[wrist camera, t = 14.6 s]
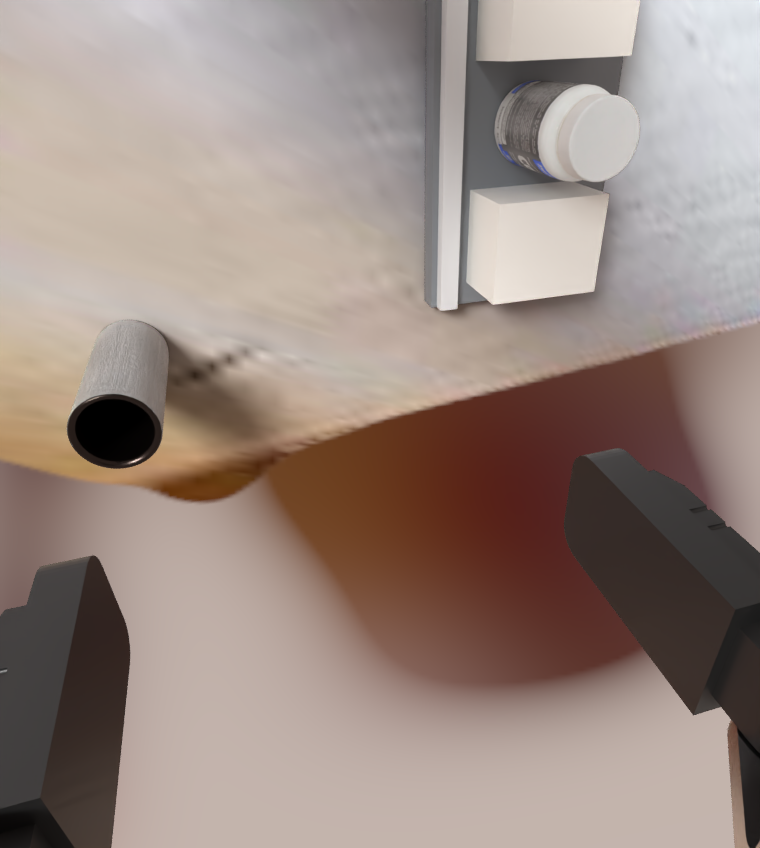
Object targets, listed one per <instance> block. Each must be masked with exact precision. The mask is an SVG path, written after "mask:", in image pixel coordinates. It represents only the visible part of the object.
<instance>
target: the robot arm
mask: <svg viewBox="0 0 760 848" xmlns="http://www.w3.org/2000/svg"><path fill="white" fill-rule="evenodd" d="M564 529H565V535H566V539H567V543H568V545H569V548H570V549H571V552H572V554H573V555H574V556H575V558H576V559H577V561H578V562H579V563H580V565H581V566H582V567H583V569H584V570H585V571H586V573H587V574H588V575H589V577H590V578H591V579H592V581H593V582H594V583H595V585H596V586H597V587H598V589H599V590H600V591H601V593H602V594H603V595H604V597H605V598H606V599H607V601H608V602H609V603H610V604H611V606H612V607H613V609H614V610H615V611H616V613H617V614H618V615H619V617H620V618H621V619H622V621H623V622H624V623H625V624H626V626H627V627H628V629H629V630H630V631H631V633H632V634H633V635H634V637H635V638H636V639H637V641H638V642H639V643H640V645H641V646H642V647H643V649H644V650H645V651H646V653H647V654H648V655H649V657H650V658H651V659H652V661H653V662H654V663H655V665H656V666H657V667H658V669H659V670H660V671H661V673H662V674H663V675H664V677H665V678H666V679H667V681H668V682H669V683H670V685H671V686H672V687H673V689H674V690H675V691H676V693H677V694H678V695H679V697H680V698H681V699H682V701H683V702H684V703H685V705H686V706H687V707H688V709H689V710H690V711H691V713H692V714H693V715H696V714H699V713H702V712H705V711H709V710H712V709H715V708H719V707H722V709H723V710H724V711H725V712H726V714H727V715H728V716H729V717H730V719H731V721H730V723H729V727H728V735H727V736H728V749H729V750H728V752H729V766H730V782H731V797H732V811H733V812H732V813H733V828H734V843H735V848H760V553H759V552H758V551H757V550H756V549H755V548H754V547H752V546H751V545H750V544H749V543H748V542H747V541H746V540H745V539H744V538H742V537H741V536H740V535H739V534H738V533H737V532H736V531H735V530H734V529H732V528H731V527H727V526H726V525H725V521H723V520H722V519H721V518H720V517H719V516H718V515H717V514H716V513H714V512H713V511H712V510H707V508H706V505H705V504H704V503H703V502H702V501H701V500H700V499H699V498H698V497H696V496H695V495H694V494H693V493H692V492H691V491H690V490H689V489H688V488H686V487H685V486H684V485H682V484H680V483H678V482H676V481H674V480H673V479H671V478H669V477H666V476H665V475H662V474H660V473H658V472H657V471H655V470H652V471H647V470H646V469H645V468H644V467H643V466H642V465H641V464H640V463H639V462H637V461H636V460H635V459H634V458H633V457H632V456H631V455H630V454H629V453H628V452H626V451H625V450H623V449H620V448H618V449H612V450H607V451H602V452H597V453H592V454H587V455H583V456H579V457H578V458H576V460H575V461H574V464H573V468H572V474H571V481H570V487H569V494H568V500H567V507H566V513H565V520H564ZM129 666H130V644H129V636H128V630H127V626H126V623H125V620H124V617H123V615H122V613H121V610H120V608H119V605H118V603H117V601H116V598H115V596H114V593H113V591H112V588H111V586H110V584H109V581H108V579H107V576H106V574H105V572H104V569H103V567H102V565H101V563H100V561H99V559H98V558H97V557H96V556H89V557H84V558H79V559H74V560H69V561H65V562H59V563H55V564H50V565H45V566H42V567H40V568H39V569H38V571H37V573H36V575H35V578H34V582H33V585H32V588H31V592H30V595H29V598H28V602H27V605H26V606H21V607H16V608H11V609H7V610H5V611H4V612H3V613H2V614H1V616H0V848H111V844H112V834H113V825H114V815H115V805H116V795H117V785H118V775H119V765H120V755H121V745H122V736H123V726H124V715H125V705H126V695H127V686H128V675H129Z"/></svg>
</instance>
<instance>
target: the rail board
mask: <svg viewBox="0 0 760 848" xmlns="http://www.w3.org/2000/svg"><path fill="white" fill-rule="evenodd" d="M639 5H640V0H426V114H425V301H426V302H427V304H428V305H429V306H430V307H431V308H433V307H437V308H438V309H439V310H440V311H445V310H452V309H457V305H458V304H463V303H471V302H479V301H487V300H488V301H489V302H490V303H491V304H493V305H495V304H503V303H511V302H518V301H526V300H533V299H541V298H549V297H556V296H564V295H571V294H579V293H587V292H594V288H595V282H596V276H597V270H598V263H599V257H600V251H601V244H602V238H603V232H604V225H605V219H606V213H607V207H608V200H609V194H608V193H605V192H603V186H604V181H602V182H590V181H585V180H581V181H575V182H568V181H562V180H559V179H556V178H553V177H550V176H547V175H544V174H541V173H538V172H536V171H533V170H530V169H527V168H524V167H521V166H518V165H515V164H513V163H512V162H510V161H508V160H507V159H506V158H505V157H504V156H503V155H502V153H501V152H500V150H499V149H498V146H497V143H496V139H495V135H494V129H495V119H496V115H497V112H498V109H499V107H500V105H501V103H502V101H503V100H504V98H505V97H506V96H507V95H508V94H509V92H510V91H511V90H513V89H514V88H515V87H517V86H518V85H520V84H522V83H524V82H527V81H533V80H540V81H555V82H566V83H577V84H590V85H596V86H599V87H601V88H603V89H605V90H606V91H607V92H609V93H610V94H611V95H618V88H619V82H620V75H621V69H622V62H623V56H631V55H632V49H633V43H634V37H635V30H636V24H637V18H638V11H639Z"/></svg>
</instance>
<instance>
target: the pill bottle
mask: <svg viewBox="0 0 760 848" xmlns="http://www.w3.org/2000/svg"><path fill="white" fill-rule="evenodd" d="M494 135H495V139H496V143H497V146H498V149H499V150H500V152H501V153H502V155H503V156H504V157H505V158H506V159H507V160H508V161H510V162H512V163H513V164H515V165H518V166H521V167H524V168H527V169H530V170H533V171H536V172H538V173H541V174H544V175H547V176H550V177H553V178H556V179H559V180H562V181H568V182H575V181H581V180H585V181H590V182H602V181H605V180H608V179H610V178H612V177H614V176H616V175H617V174H618V173H620V172H621V171H622V170H623V169H624V168H625V167H626V166H627V164H628V163H629V161H630V160H631V158H632V157H633V155H634V153H635V150H636V148H637V145H638V142H639V136H640V122H639V117H638V114H637V111H636V109H635V108H634V106H633V105H632V104H631V103H630V102H629V101H628V100H627V99H625V98H623V97H620V96H617V95H611V94H610V93H609V92H607V91H606V90H605V89H603V88H601V87H599V86H596V85H590V84H577V83H566V82H555V81H540V80H533V81H527V82H524V83H522V84H520V85H518V86H517V87H515V88H514V89H513V90H511V91H510V92H509V94H508V95H507V96H506V97H505V98H504V100H503V101H502V103H501V105H500V107H499V109H498V112H497V115H496V119H495V129H494Z"/></svg>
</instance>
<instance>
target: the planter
mask: <svg viewBox="0 0 760 848" xmlns="http://www.w3.org/2000/svg"><path fill="white" fill-rule="evenodd" d="M168 365H169V350H168V346H167V343H166V341H165V339H164V338H163V336H162V335H161V334H160V333H159V332H158V331H157V330H156V329H155V328H153V327H152V326H150V325H148V324H146V323H143V322H140V321H135V320H122V321H118V322H115V323H112V324H110V325H109V326H107V327H106V328H105V329H103V330H102V332H101V333H100V334H99V336H98V338H97V339H96V341H95V344H94V347H93V350H92V353H91V355H90V358H89V361H88V364H87V367H86V370H85V373H84V376H83V378H82V381H81V384H80V387H79V390H78V393H77V396H76V398H75V401H74V404H73V407H72V410H71V413H70V416H69V419H68V423H67V435H68V438H69V441H70V443H71V445H72V447H73V448H74V449H75V451H76V452H77V453H78V454H79V455H80V456H82V457H83V458H84V459H86V460H87V461H89V462H91V463H93V464H95V465H98V466H101V467H106V468H114V469H120V468H128V467H133V466H136V465H138V464H141V463H143V462H144V461H146V460H147V459H149V458H150V457H151V456H152V455H153V454H154V453H155V452H156V451H157V449H158V447H159V446H160V443H161V440H162V434H163V423H164V411H165V400H166V388H167V377H168Z"/></svg>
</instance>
